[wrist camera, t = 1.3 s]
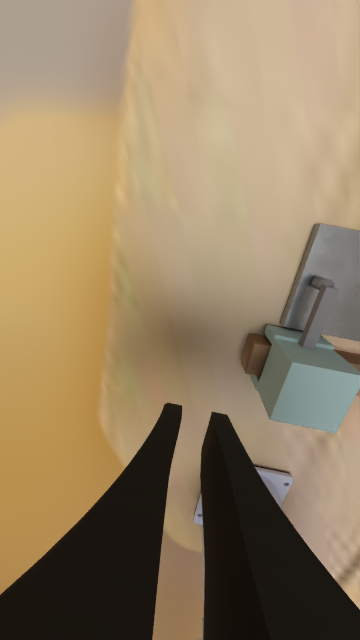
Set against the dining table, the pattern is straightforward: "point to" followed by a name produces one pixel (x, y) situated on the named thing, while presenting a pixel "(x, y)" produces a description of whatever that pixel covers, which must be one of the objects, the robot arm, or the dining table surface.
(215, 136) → the dining table surface
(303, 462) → the dining table surface
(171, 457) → the robot arm
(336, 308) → the flange plate
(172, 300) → the dining table surface
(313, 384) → the carriage
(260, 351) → the trammel rail
